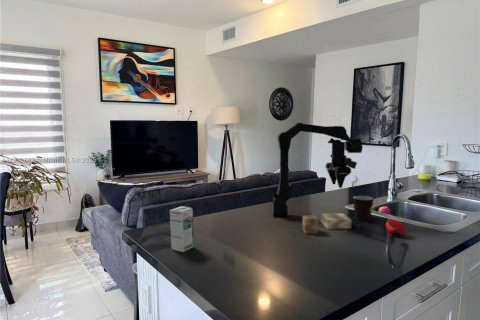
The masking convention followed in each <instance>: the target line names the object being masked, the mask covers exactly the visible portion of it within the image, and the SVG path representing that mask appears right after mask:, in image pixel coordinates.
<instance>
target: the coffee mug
mask: <svg viewBox="0 0 480 320" xmlns="http://www.w3.org/2000/svg"><path fill="white" fill-rule="evenodd" d="M374 199H375V198H374V197H372V196H367V195H354V196H353V197H352V200H353V201H352V202H353V209H354V210H353V211H354V219H355V220H356V221H358V222H367V223H368V222H370V221H371V218H372V217H371V216H372V210H373V205H374V204H373V203H374Z"/></svg>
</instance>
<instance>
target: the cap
mask: <svg viewBox="0 0 480 320" xmlns="http://www.w3.org/2000/svg"><path fill="white" fill-rule="evenodd" d="M384 226H385V230H386V231H387V233H388V235H389V237H392V236H393V233H395V232H396V231H399V232H400V233H402V235H403V237H405V238H406V236H407V235H406V227H405V225H403V223H401V222H400V221H398V220H396V219H388V220H387V221H386V222H385V223H384Z"/></svg>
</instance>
